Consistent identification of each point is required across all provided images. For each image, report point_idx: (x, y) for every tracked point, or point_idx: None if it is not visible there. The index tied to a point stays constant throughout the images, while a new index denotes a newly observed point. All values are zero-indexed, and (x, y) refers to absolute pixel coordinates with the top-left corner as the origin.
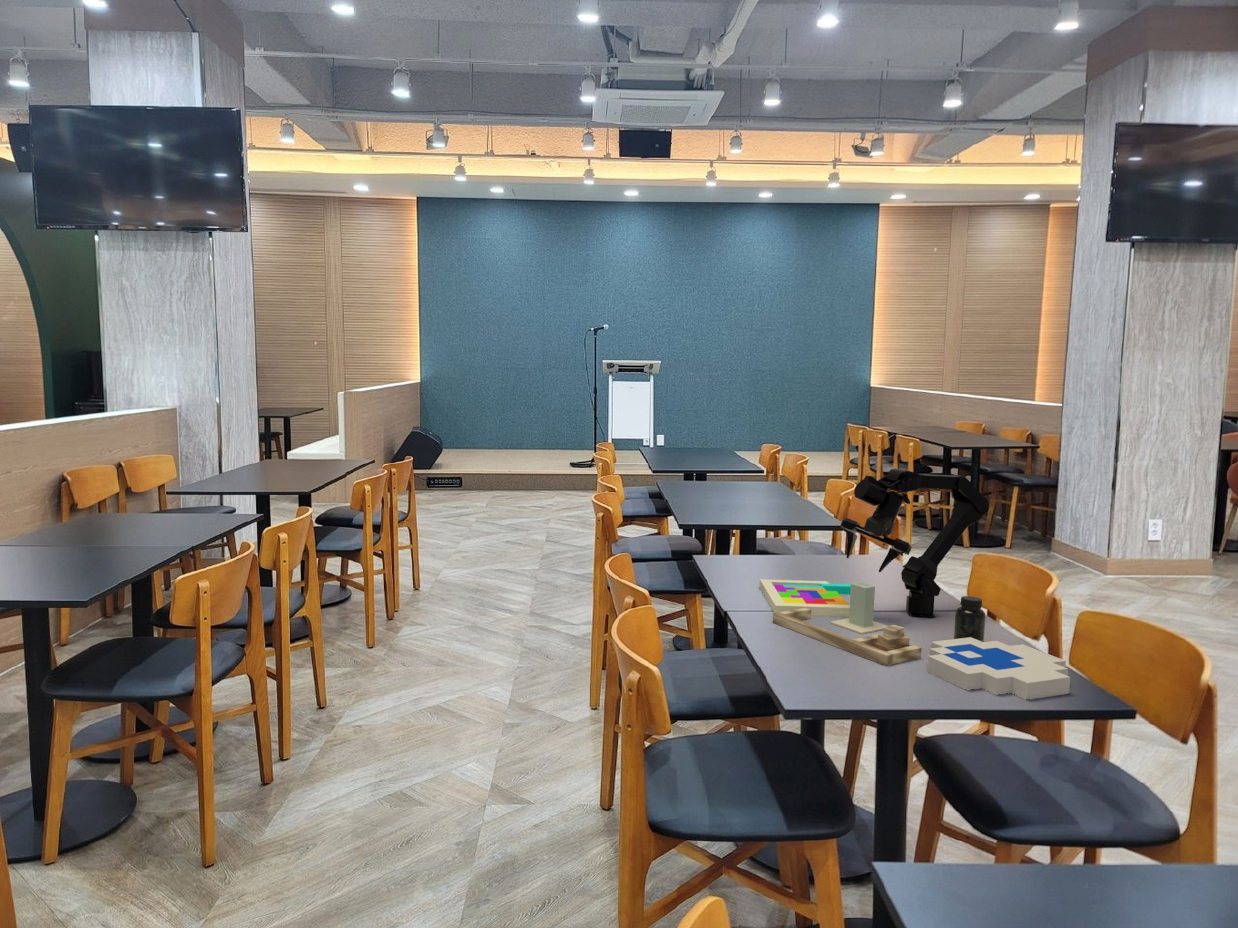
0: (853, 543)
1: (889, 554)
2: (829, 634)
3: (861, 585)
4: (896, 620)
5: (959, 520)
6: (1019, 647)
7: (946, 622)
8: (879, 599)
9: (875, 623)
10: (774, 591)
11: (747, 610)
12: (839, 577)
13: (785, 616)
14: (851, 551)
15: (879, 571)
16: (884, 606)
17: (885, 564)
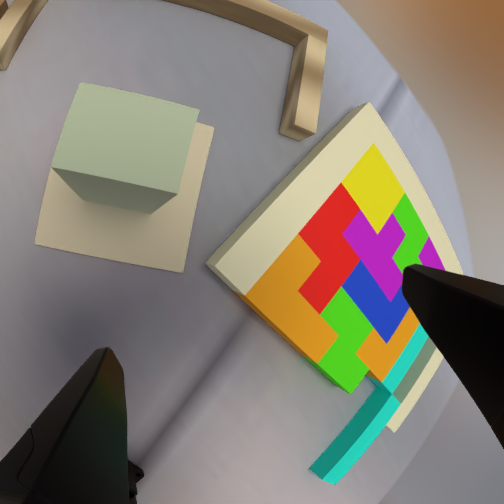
0: (498, 377)
1: (3, 495)
2: None
3: (131, 123)
4: (80, 356)
5: None
6: None
7: (4, 449)
8: (259, 482)
9: (90, 237)
10: (432, 233)
11: (395, 101)
12: (386, 490)
13: (292, 18)
14: (440, 341)
15: (100, 348)
16: (209, 453)
17: (50, 403)
